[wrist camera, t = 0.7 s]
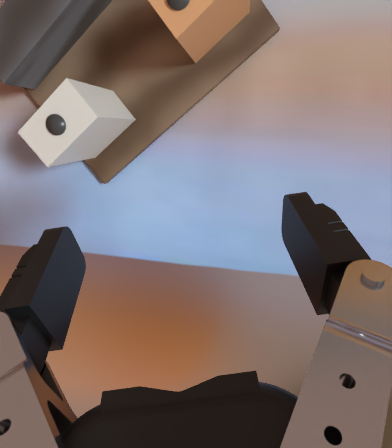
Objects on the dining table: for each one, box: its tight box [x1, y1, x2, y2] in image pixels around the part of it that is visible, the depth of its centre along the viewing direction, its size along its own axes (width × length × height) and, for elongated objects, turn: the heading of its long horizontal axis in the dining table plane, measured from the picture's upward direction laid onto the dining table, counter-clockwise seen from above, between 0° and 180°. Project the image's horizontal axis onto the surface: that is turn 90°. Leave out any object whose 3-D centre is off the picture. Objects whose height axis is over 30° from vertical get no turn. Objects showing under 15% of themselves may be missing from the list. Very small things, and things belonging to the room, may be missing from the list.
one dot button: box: [18, 78, 136, 167], centre depth 31 cm, size 4×7×10 cm, turn 129°
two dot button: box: [148, 0, 250, 63], centre depth 26 cm, size 4×7×10 cm, turn 129°
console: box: [0, 0, 280, 184], centre depth 31 cm, size 18×26×6 cm
